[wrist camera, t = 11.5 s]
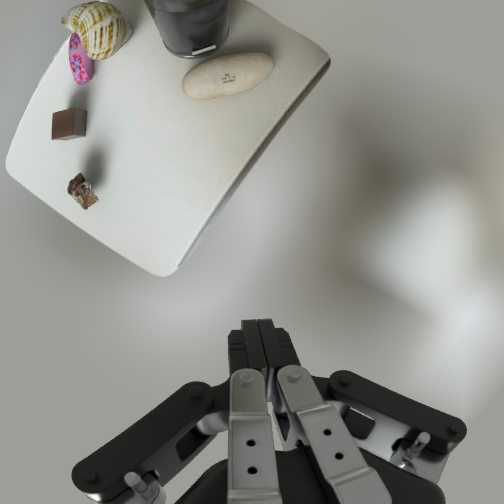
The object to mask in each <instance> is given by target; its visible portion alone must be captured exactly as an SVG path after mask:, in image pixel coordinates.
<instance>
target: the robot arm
mask: <svg viewBox="0 0 504 504" xmlns="http://www.w3.org/2000/svg"><path fill="white" fill-rule="evenodd" d="M144 2H145V4H146V6H147V8H148V10H149V12H150V14H151V16H152V18H153V20H154V22H155V24H156V26H157V28H158V30H159V32H160V35H161V37H162V39H163V42H164V44H165V46H166V48H167V49H168V50H169V51H170V52H171V53H172V54H174V55H176V56H178V57H181V58H187V59H195V58H201V57H205V56H208V55H210V54H212V53H214V52H215V51H217V50H218V49H219V48H220V47H221V46H222V45H223V44H224V42H225V41H226V39H227V36H228V22H229V13H230V4H231V0H144ZM228 360H229V373H230V377H229V378H228V380H227V381H226V382H224V383H222V384H220V385H217V386H214V387H211V386H210V385H208V384H206V383H204V382H197V381H196V382H189V383H187V384H185V385H184V386H182V387H181V388H180V389H179V390H177V391H176V392H175V393H173V394H172V395H171V396H170V397H168V398H167V399H166V400H165V401H163V402H162V403H161V404H159V405H158V406H157V407H156V408H154V409H153V410H152V411H150V412H149V413H148V414H146V415H145V416H144V417H143V418H141V419H140V420H138V421H137V422H136V423H134V424H133V425H132V426H130V427H129V428H128V429H126V430H125V431H124V432H122V433H121V434H119V435H118V436H117V437H115V438H114V439H112V440H111V441H110V442H108V443H107V444H105V445H104V446H102V447H101V448H99V449H98V450H97V451H95V452H94V453H92V454H91V455H89V456H88V457H86V458H85V459H83V460H82V461H80V462H79V463H77V464H76V465H75V466H74V468H73V470H72V480H73V483H74V484H75V486H76V487H77V488H78V489H79V490H81V491H82V492H83V493H84V494H85V495H86V496H87V497H88V498H90V499H91V500H92V501H94V502H95V503H96V504H164V503H165V501H166V494H165V491H164V490H163V488H162V487H163V486H164V485H165V484H167V483H168V482H169V481H170V480H171V479H172V478H173V477H174V476H176V474H178V473H179V472H180V471H181V470H182V469H183V468H184V467H185V466H186V465H187V464H189V463H190V462H191V461H192V460H193V459H194V458H195V457H196V456H197V455H198V454H199V453H200V452H201V451H202V450H203V449H204V448H205V447H206V446H207V445H208V444H209V443H210V442H211V441H212V440H213V439H214V438H215V437H216V436H217V433H219V432H223V431H226V430H228V459H225V460H222V461H220V462H218V463H216V464H214V465H213V466H211V467H210V468H209V469H207V470H206V471H205V472H204V473H203V474H202V475H201V477H200V478H199V479H198V480H197V481H196V482H195V483H194V484H193V485H192V486H191V487H190V488H189V489H188V490H187V491H186V492H185V493H184V494H183V496H181V497H180V498H179V499H178V500H177V501H176V502H175V503H174V504H446V501H445V496H444V493H443V491H442V490H441V488H440V487H439V486H438V485H437V483H438V481H439V478H440V476H441V474H442V472H443V469H444V467H445V464H446V462H447V459H448V456H449V454H450V453H451V452H452V451H453V449H454V448H455V447H456V446H457V445H458V444H459V443H460V442H461V441H462V440H463V439H464V438H465V436H466V433H467V428H466V425H465V423H464V422H463V421H462V420H461V419H459V418H457V417H454V416H451V415H449V414H446V413H444V412H441V411H439V410H436V409H434V408H431V407H429V406H426V405H424V404H421V403H419V402H417V401H414V400H412V399H409V398H407V397H405V396H403V395H400V394H398V393H396V392H393V391H391V390H389V389H387V388H385V387H382V386H380V385H378V384H376V383H374V382H372V381H370V380H367V379H365V378H363V377H361V376H359V375H357V374H355V373H353V372H351V371H347V370H340V371H336V372H334V373H333V374H332V375H331V376H330V378H323V377H315V376H312V375H310V373H309V372H308V371H307V370H306V369H305V368H303V367H301V364H300V362H299V359H298V357H297V354H296V352H295V349H294V347H293V344H292V342H291V339H290V336H289V334H288V333H287V332H286V331H285V330H284V329H283V328H275V327H274V324H273V321H272V319H257V321H256V319H254V320H241V330H232V331H231V332H230V334H229V336H228ZM267 402H272V405H273V410H272V415H273V419H274V422H275V425H276V428H277V431H278V434H279V437H280V440H281V442H282V446H283V451H276V450H275V448H274V440H273V431H272V423H271V417H270V415H269V414H268V408H267ZM351 407H352V408H354V409H356V410H358V411H359V412H361V413H363V414H365V415H368V416H369V417H371V418H373V419H374V420H372V419H370V418H368V417H366V416H363V415H362V414H360V413H358V412H356V411H354V410H352V409H350V408H351ZM372 453H373V454H372ZM374 454H375V455H374ZM376 455H377V456H376ZM378 456H380V457H381V458H380V457H378ZM382 458H384V459H386V460H388V461H390V462H388V461H386V460H384V459H382Z"/></svg>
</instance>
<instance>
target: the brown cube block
mask: <svg viewBox="0 0 504 504" xmlns="http://www.w3.org/2000/svg"><path fill="white" fill-rule="evenodd" d="M86 112H87V111H85V110H81V109H77V108H71V109H67V110H63V111H59V112H56V113H53V119H52V140H68V139H73V138H79V137H84V136H85V134H86Z"/></svg>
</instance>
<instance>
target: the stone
mask: <svg viewBox="0 0 504 504" xmlns="http://www.w3.org/2000/svg"><path fill="white" fill-rule="evenodd" d="M273 69H274V61H273V59H272V58H271V57H270V56H268V55H266V54H264V53H260V52H247V53H237V54H231V55H226V56H221V57H217V58H214V59H211V60H208V61H206V62H204V63H201V64H199V65H197V66H196V67H194V68H192V69H191V70H190V71H189V72H188V73H187V74H186V75H185V76H184V78H183V81H182V87H183V90H184V92H185V94H186V95H187V96H189V97H191V98H194V99H199V100H204V99H214V98H219V97H223V96H227V95H231V94H235V93H239V92H242V91H245V90H248V89H251V88H253V87H255V86H257V85H259V84H260V83H262V82H263V81H264V80H265V79H266V78H267V77H268V76H269V75H270V74H271V73H272V71H273Z"/></svg>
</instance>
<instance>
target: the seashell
mask: <svg viewBox="0 0 504 504" xmlns="http://www.w3.org/2000/svg"><path fill="white" fill-rule="evenodd" d="M62 24H63V26H65V27H66V28H68V29H70V30H72V31H74V32H75V33H76V34H78V35H79V37H80V39H81V41H82V45H83V48H84V51H85V53H86V54H87V56H88V57H89V58H91V59H93V60H103V59H106V58H109V57H111V56H112V55H114V54H115V53H116V52H117V51H118V50H119V49H120V48H121V46H122V45H123V44H124V43H125V42H126V41H127V40H128V39H129V37H130V36H131V34H132V28H131V26H130V24H129V22H128V21H127V20H126V19H124V18H123V17H122V13H121V12H120V10H118V9H117V8H116V7H114V6H113V5H111V4H108V3H104V2H99V1H94V2H89V3H85V4H81V5H79V6H75V7H73V8H72V9H70V10H69V11H68V12H67V13H66V14H65V15H64V16H63V17H62Z"/></svg>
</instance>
